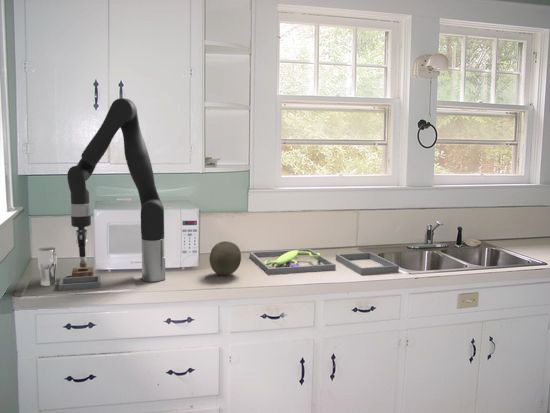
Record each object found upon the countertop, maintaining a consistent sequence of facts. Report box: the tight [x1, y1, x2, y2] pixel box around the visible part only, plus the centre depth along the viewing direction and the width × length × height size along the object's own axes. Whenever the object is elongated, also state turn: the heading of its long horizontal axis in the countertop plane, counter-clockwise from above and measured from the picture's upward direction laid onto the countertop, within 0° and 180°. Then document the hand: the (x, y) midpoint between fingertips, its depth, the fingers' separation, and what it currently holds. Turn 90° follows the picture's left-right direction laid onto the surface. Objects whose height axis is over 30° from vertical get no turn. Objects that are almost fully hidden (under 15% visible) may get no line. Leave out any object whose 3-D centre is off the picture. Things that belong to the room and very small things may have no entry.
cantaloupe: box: [208, 241, 242, 277], centre depth 225 cm, size 14×14×15 cm
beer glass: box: [37, 246, 58, 287], centre depth 206 cm, size 7×7×15 cm
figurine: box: [264, 249, 321, 267], centre depth 249 cm, size 18×27×6 cm
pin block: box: [71, 266, 94, 277], centre depth 217 cm, size 8×8×4 cm
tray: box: [58, 275, 102, 291], centre depth 206 cm, size 15×10×3 cm, turn 108°
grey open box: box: [249, 248, 337, 275], centre depth 250 cm, size 32×32×2 cm
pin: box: [76, 239, 89, 268], centre depth 215 cm, size 4×4×11 cm
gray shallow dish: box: [335, 251, 400, 276], centre depth 247 cm, size 19×27×3 cm
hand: (82, 255), depth 216 cm, fingers closed on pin, 2 cm apart
